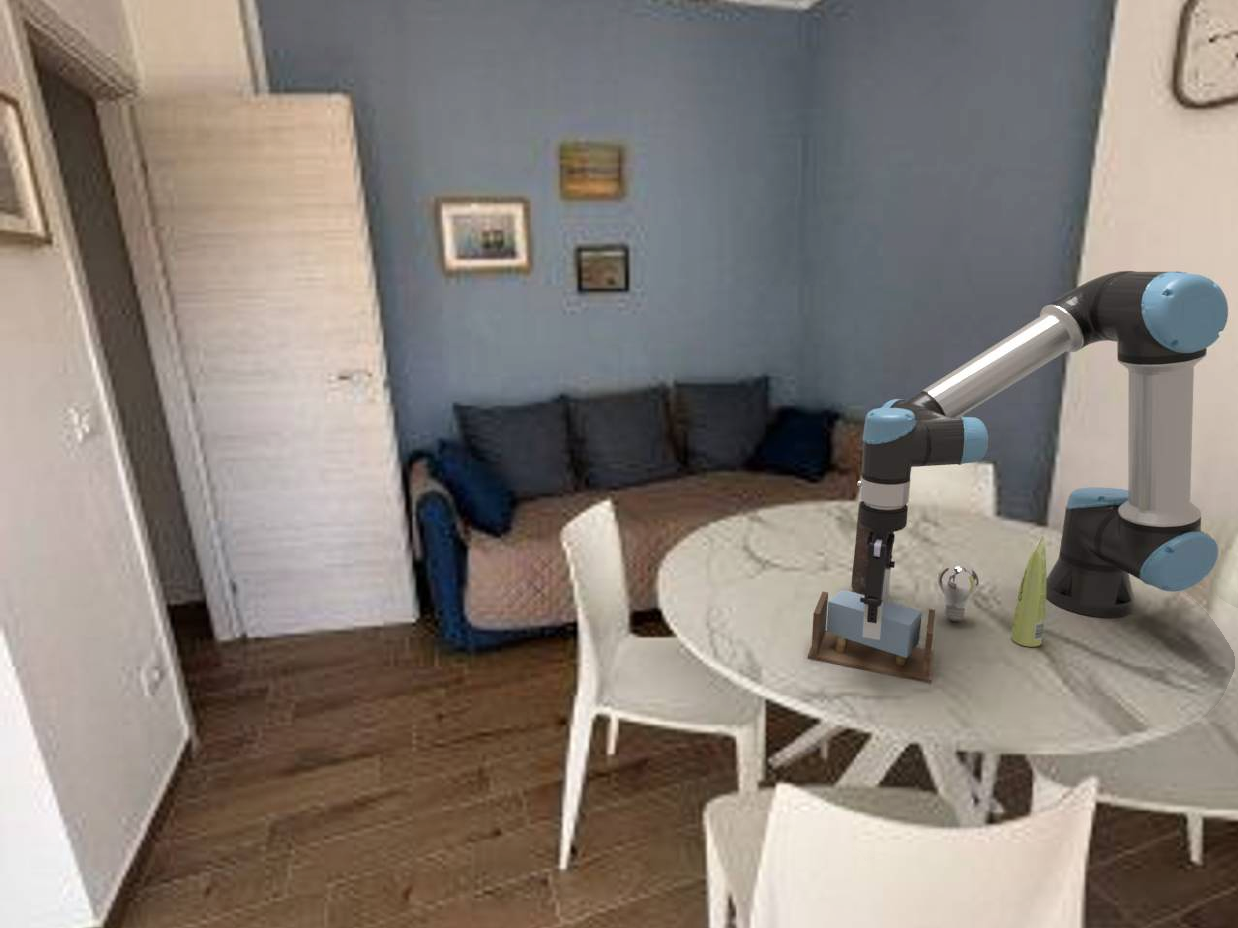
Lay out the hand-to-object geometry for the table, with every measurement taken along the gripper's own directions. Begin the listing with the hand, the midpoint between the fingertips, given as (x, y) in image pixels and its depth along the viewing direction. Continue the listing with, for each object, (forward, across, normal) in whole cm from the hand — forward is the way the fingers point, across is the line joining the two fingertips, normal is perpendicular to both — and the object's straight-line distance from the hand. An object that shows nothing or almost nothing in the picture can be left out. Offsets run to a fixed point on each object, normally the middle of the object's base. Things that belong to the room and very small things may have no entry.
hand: (875, 618), depth 126 cm
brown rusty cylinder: (+7, -25, -3) cm, 26 cm away
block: (+3, 0, 0) cm, 4 cm away
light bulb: (+8, -19, +13) cm, 24 cm away
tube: (+8, -16, +25) cm, 30 cm away
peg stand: (+7, 0, 0) cm, 7 cm away
